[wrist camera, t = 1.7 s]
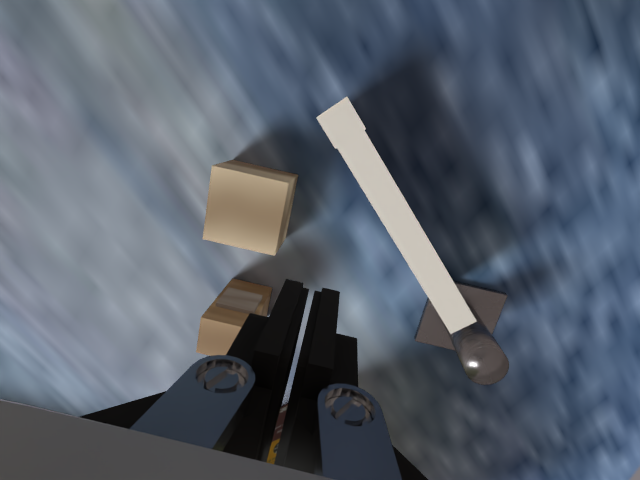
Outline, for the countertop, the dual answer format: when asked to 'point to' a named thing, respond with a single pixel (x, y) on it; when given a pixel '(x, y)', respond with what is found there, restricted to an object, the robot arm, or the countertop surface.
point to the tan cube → (249, 206)
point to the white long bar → (395, 213)
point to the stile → (230, 315)
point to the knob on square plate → (470, 334)
